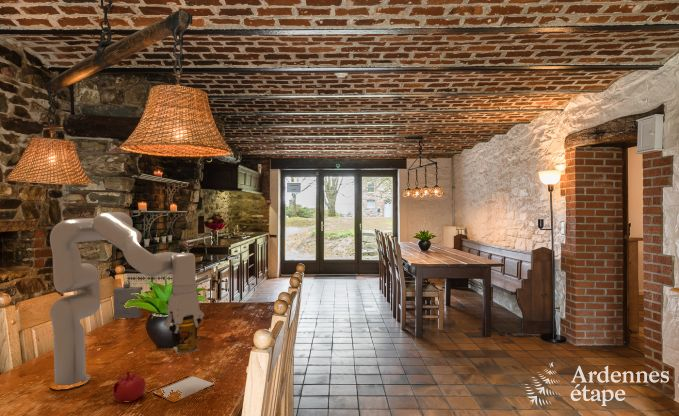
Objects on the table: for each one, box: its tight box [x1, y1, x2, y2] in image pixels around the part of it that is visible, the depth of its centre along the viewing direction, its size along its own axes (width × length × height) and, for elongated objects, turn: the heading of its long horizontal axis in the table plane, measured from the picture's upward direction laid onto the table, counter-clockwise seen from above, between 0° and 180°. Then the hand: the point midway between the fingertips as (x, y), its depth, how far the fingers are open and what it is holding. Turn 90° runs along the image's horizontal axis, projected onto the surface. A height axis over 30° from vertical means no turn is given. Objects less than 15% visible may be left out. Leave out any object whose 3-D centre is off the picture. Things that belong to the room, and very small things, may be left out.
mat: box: [153, 375, 215, 398], centre depth 145 cm, size 12×16×1 cm
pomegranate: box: [112, 370, 146, 403], centre depth 139 cm, size 10×10×9 cm
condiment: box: [173, 315, 201, 355], centre depth 145 cm, size 7×8×12 cm
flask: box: [113, 282, 142, 320], centre depth 241 cm, size 15×6×20 cm, turn 93°
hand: (184, 340), depth 144 cm, fingers closed on condiment, 6 cm apart
